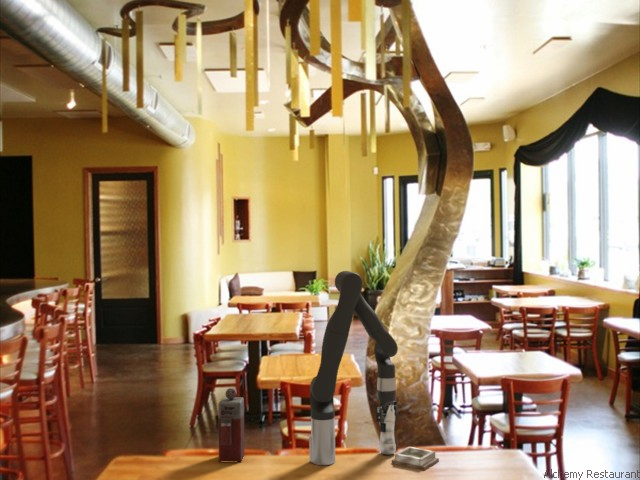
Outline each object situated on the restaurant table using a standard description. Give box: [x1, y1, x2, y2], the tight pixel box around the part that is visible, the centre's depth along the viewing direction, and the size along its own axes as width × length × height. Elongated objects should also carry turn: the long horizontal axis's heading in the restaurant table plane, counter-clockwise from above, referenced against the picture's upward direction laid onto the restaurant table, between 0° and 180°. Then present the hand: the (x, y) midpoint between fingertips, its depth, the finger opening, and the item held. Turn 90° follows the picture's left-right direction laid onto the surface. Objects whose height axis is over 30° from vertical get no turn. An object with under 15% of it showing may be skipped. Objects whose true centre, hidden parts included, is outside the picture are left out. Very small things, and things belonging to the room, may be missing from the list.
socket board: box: [391, 446, 440, 471], centre depth 244 cm, size 14×12×4 cm
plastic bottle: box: [378, 405, 397, 456], centre depth 255 cm, size 6×7×20 cm
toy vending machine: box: [217, 387, 245, 462], centre depth 251 cm, size 9×11×28 cm
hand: (387, 429), depth 255 cm, fingers closed on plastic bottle, 6 cm apart
